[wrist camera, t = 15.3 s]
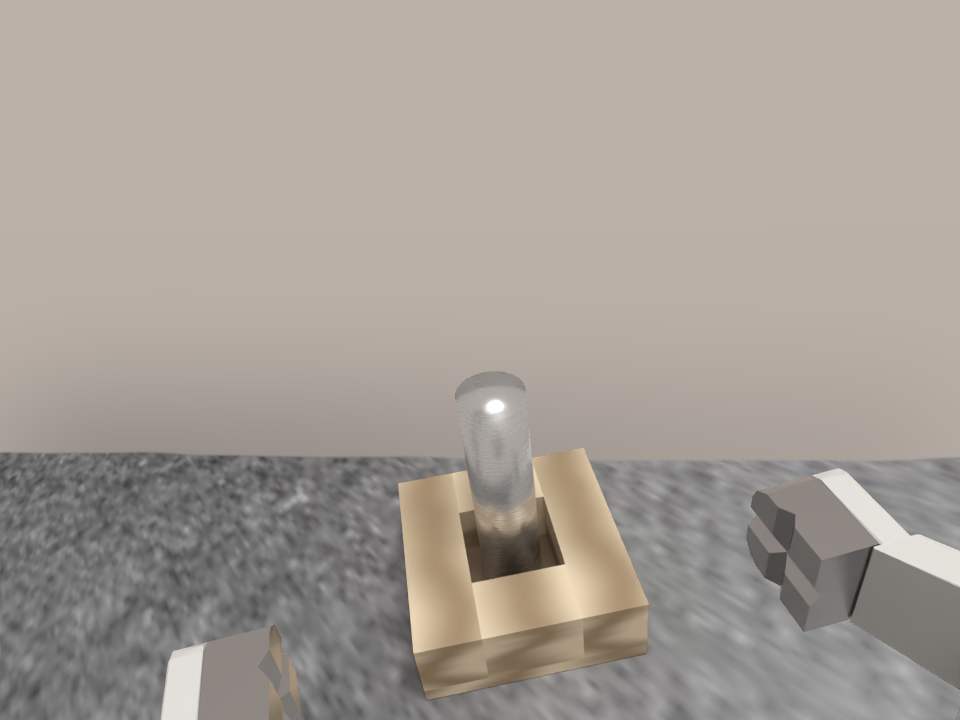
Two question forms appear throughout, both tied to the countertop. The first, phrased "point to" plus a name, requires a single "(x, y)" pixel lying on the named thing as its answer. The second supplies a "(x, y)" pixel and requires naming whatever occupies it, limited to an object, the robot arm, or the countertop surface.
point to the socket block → (518, 584)
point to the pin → (500, 472)
